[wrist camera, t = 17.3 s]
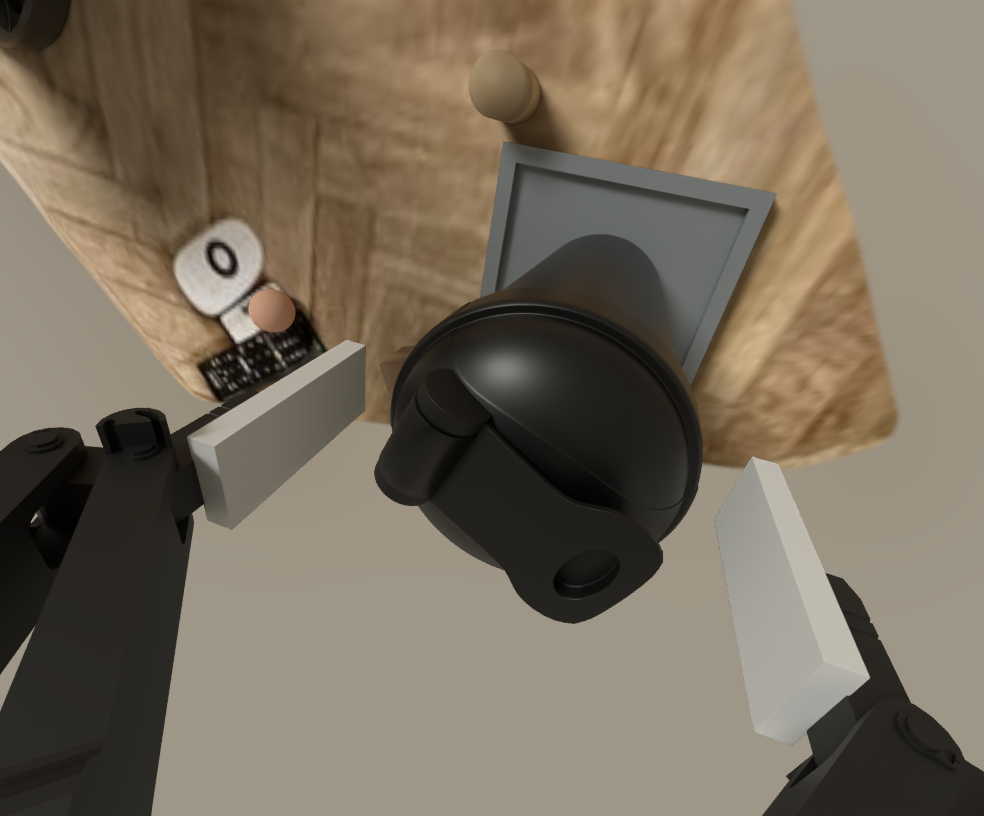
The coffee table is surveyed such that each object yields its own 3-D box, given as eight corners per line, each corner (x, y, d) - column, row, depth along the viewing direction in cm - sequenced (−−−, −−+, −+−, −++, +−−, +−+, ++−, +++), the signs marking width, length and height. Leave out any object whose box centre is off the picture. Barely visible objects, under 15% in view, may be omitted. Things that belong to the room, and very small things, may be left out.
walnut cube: (414, 388, 40) (393, 409, 37) (403, 346, 38) (379, 364, 35) (455, 386, 39) (437, 408, 35) (445, 343, 37) (424, 361, 34)
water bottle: (609, 392, 34) (552, 694, 15) (498, 314, 34) (294, 518, 14) (710, 280, 28) (833, 533, 9) (579, 186, 28) (420, 242, 9)
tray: (474, 364, 37) (469, 370, 36) (508, 142, 29) (503, 141, 28) (670, 420, 34) (671, 429, 33) (771, 192, 26) (776, 193, 25)
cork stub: (489, 119, 28) (465, 113, 25) (497, 61, 27) (472, 45, 23) (534, 128, 28) (517, 123, 24) (545, 68, 26) (528, 53, 23)
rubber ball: (271, 319, 41) (241, 331, 38) (267, 280, 39) (235, 290, 36) (305, 329, 40) (277, 342, 37) (303, 290, 39) (273, 301, 36)
